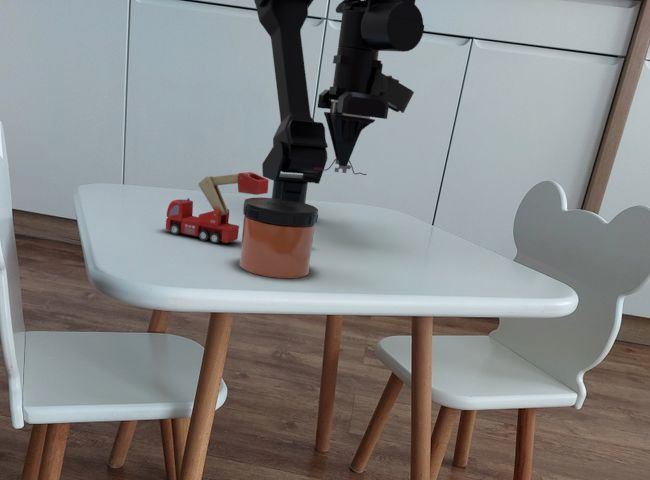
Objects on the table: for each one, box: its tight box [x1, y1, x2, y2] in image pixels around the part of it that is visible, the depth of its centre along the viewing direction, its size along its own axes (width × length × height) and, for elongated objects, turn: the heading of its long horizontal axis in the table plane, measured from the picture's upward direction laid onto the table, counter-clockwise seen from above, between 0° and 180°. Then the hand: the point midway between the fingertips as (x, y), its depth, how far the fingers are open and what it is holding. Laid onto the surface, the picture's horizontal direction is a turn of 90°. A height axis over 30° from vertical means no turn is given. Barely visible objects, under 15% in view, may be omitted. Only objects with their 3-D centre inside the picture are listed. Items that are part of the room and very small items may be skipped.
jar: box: [239, 214, 316, 279], centre depth 81 cm, size 8×8×7 cm
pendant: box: [314, 157, 367, 176], centre depth 102 cm, size 8×4×3 cm, turn 85°
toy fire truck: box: [165, 171, 269, 244], centre depth 91 cm, size 3×14×10 cm, turn 68°
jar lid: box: [242, 197, 319, 226], centre depth 80 cm, size 9×9×2 cm
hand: (342, 165), depth 100 cm, fingers closed on pendant
